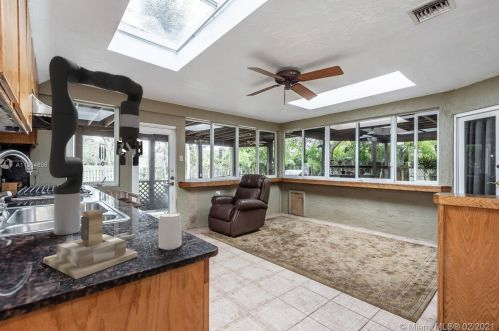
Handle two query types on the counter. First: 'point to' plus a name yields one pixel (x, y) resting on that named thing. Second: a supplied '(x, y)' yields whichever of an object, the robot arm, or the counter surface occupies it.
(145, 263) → the counter surface
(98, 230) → the tan long rectangular block
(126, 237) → the adjustable wrench
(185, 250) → the counter surface
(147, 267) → the counter surface
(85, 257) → the wooden socket base
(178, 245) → the beverage can
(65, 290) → the counter surface
